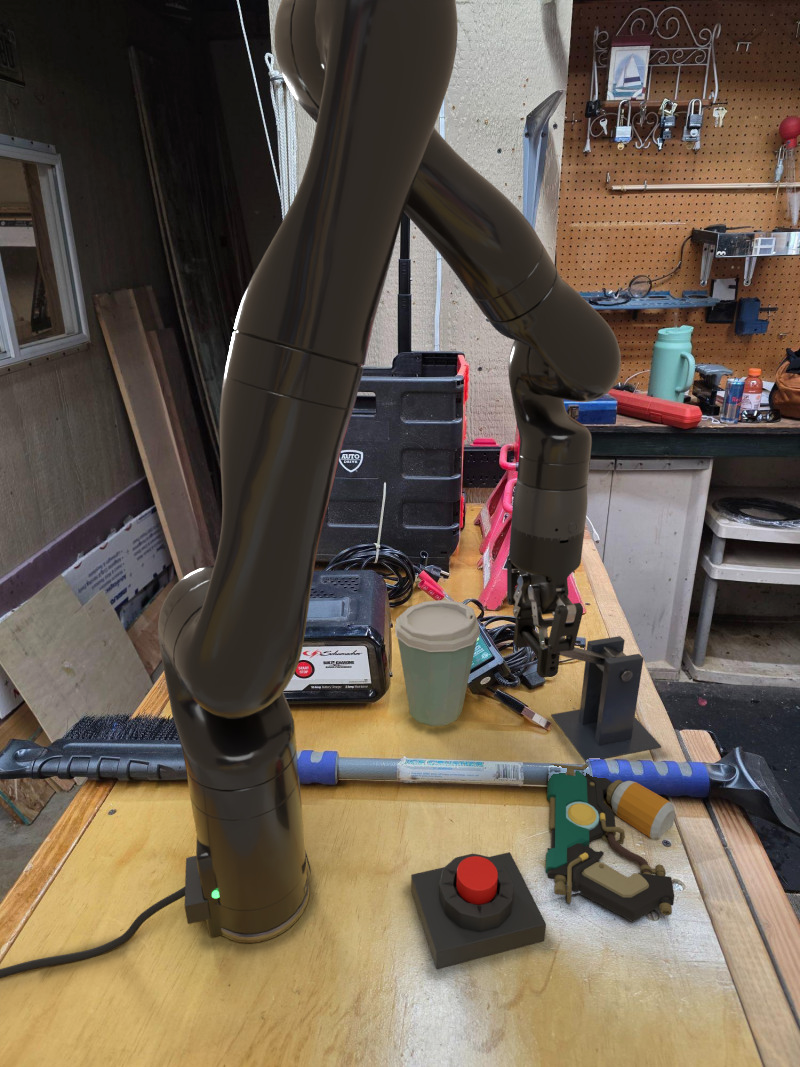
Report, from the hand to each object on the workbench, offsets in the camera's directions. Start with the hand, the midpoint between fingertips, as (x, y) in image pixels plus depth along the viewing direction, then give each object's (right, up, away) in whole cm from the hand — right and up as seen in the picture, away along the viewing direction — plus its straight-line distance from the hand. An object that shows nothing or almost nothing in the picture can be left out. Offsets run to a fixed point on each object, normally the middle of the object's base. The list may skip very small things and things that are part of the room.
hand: (534, 659), depth 78 cm
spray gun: (+5, -18, -8) cm, 20 cm away
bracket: (+10, -11, +8) cm, 17 cm away
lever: (+5, -1, +2) cm, 5 cm away
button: (-8, -17, -16) cm, 25 cm away
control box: (-8, -21, -15) cm, 27 cm away
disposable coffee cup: (-11, -10, +12) cm, 19 cm away
